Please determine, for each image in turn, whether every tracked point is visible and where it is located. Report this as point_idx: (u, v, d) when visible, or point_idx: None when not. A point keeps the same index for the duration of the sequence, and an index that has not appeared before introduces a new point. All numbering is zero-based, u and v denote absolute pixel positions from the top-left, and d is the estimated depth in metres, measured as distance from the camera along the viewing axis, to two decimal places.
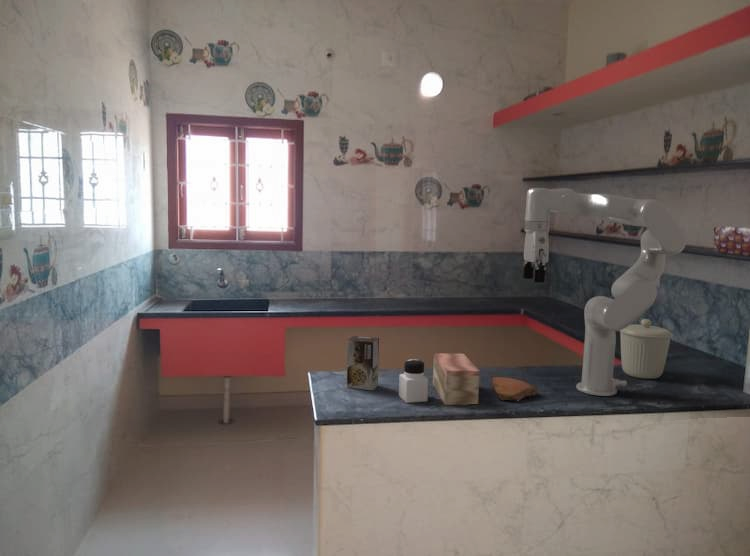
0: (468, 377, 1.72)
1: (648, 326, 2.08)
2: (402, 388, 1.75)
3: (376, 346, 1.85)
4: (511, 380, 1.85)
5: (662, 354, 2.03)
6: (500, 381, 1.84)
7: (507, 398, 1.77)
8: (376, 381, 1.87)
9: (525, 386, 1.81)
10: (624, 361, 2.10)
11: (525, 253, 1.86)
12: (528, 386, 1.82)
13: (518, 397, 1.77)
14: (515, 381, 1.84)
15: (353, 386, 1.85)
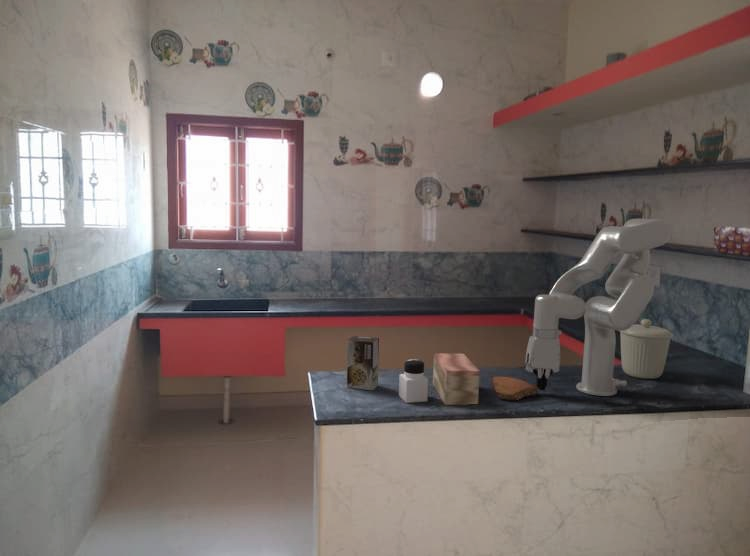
0: (468, 377, 1.72)
1: (648, 326, 2.08)
2: (402, 388, 1.75)
3: (376, 346, 1.85)
4: (511, 379, 1.86)
5: (662, 354, 2.03)
6: (500, 380, 1.85)
7: (506, 397, 1.77)
8: (376, 381, 1.87)
9: (525, 386, 1.81)
10: (624, 361, 2.10)
11: (538, 361, 1.81)
12: (528, 385, 1.82)
13: (517, 396, 1.78)
14: (515, 380, 1.85)
15: (353, 386, 1.85)
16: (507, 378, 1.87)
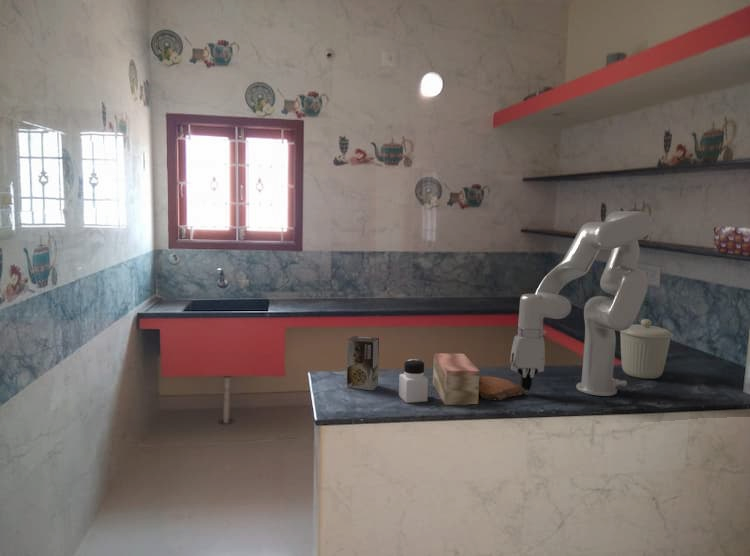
0: (468, 377, 1.72)
1: (648, 326, 2.08)
2: (402, 388, 1.75)
3: (376, 346, 1.85)
4: (497, 379, 1.85)
5: (662, 354, 2.03)
6: (485, 380, 1.85)
7: (488, 397, 1.78)
8: (376, 381, 1.87)
9: (509, 386, 1.81)
10: (624, 361, 2.10)
11: (522, 361, 1.81)
12: (513, 386, 1.81)
13: (500, 396, 1.78)
14: (501, 380, 1.84)
15: (353, 386, 1.85)
16: (494, 378, 1.87)
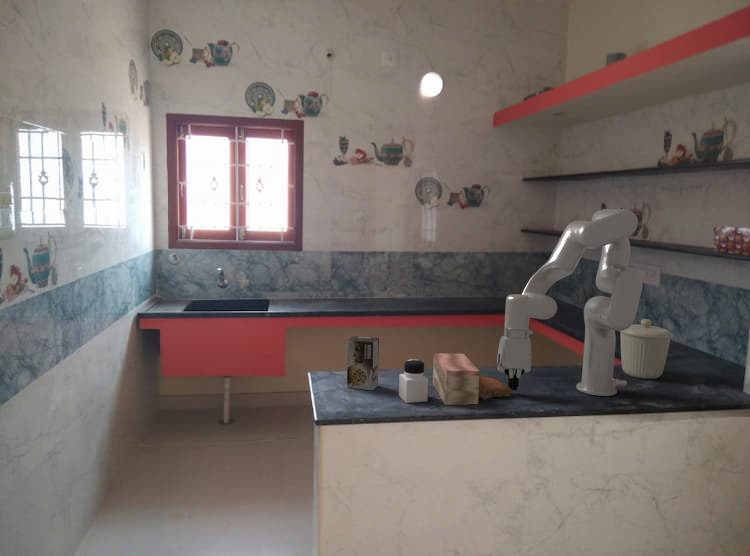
0: (468, 377, 1.72)
1: (648, 326, 2.08)
2: (402, 388, 1.75)
3: (376, 346, 1.85)
4: (486, 379, 1.85)
5: (662, 354, 2.03)
6: None
7: None
8: (376, 381, 1.87)
9: (496, 386, 1.80)
10: (624, 361, 2.10)
11: (509, 361, 1.81)
12: (499, 386, 1.80)
13: (484, 396, 1.78)
14: (489, 380, 1.84)
15: (353, 386, 1.85)
16: (483, 378, 1.87)
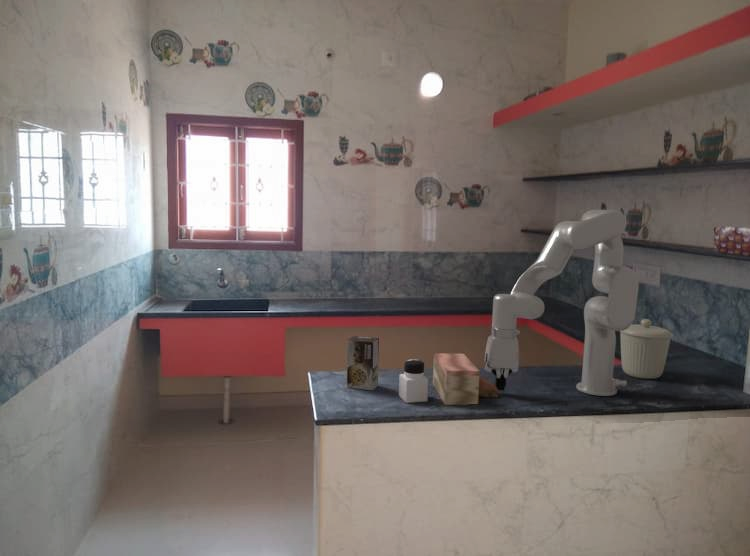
0: (468, 377, 1.72)
1: (648, 326, 2.08)
2: (402, 388, 1.75)
3: (376, 346, 1.85)
4: None
5: (662, 354, 2.03)
6: None
7: None
8: (376, 381, 1.87)
9: (481, 386, 1.80)
10: (624, 361, 2.10)
11: (496, 361, 1.80)
12: (485, 386, 1.80)
13: None
14: None
15: (353, 386, 1.85)
16: None
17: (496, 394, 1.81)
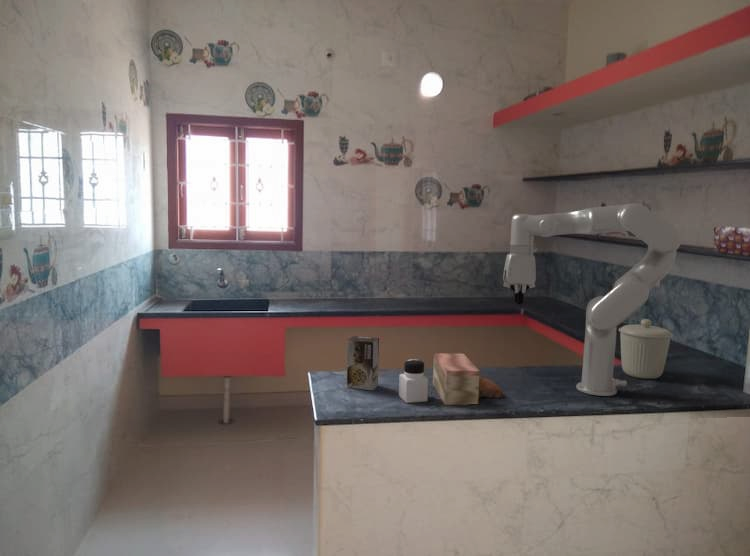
0: (468, 377, 1.72)
1: (648, 326, 2.08)
2: (402, 388, 1.75)
3: (376, 346, 1.85)
4: (479, 379, 1.85)
5: (662, 354, 2.03)
6: None
7: None
8: (376, 381, 1.87)
9: (485, 386, 1.80)
10: (624, 361, 2.10)
11: (514, 276, 1.92)
12: (489, 386, 1.80)
13: None
14: (481, 380, 1.84)
15: (353, 386, 1.85)
16: None
17: (500, 394, 1.80)
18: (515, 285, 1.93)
